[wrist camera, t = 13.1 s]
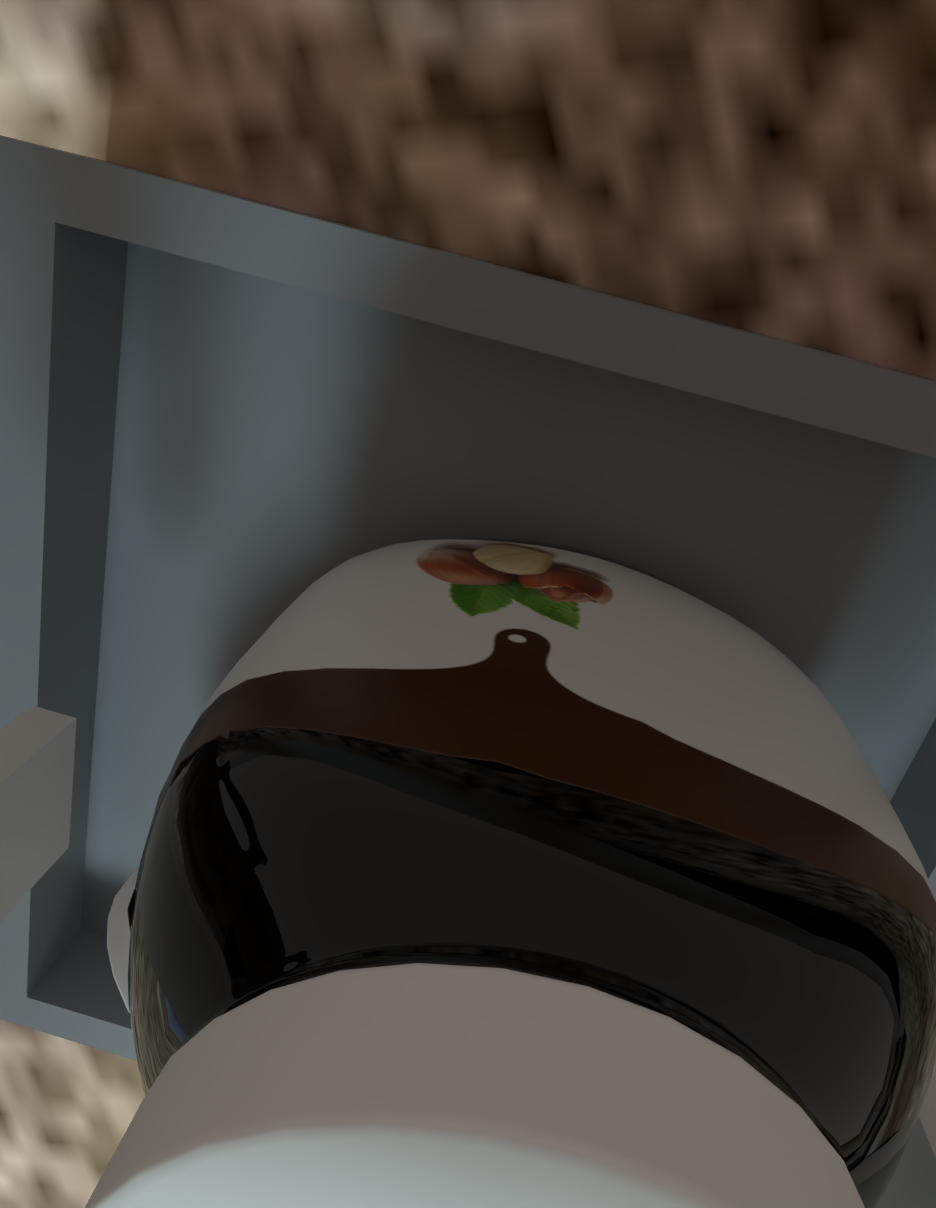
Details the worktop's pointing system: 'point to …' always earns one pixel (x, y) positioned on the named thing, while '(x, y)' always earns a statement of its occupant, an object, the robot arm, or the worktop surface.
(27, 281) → the tray
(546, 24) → the worktop surface
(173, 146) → the worktop surface
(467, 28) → the worktop surface
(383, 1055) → the spread jar
